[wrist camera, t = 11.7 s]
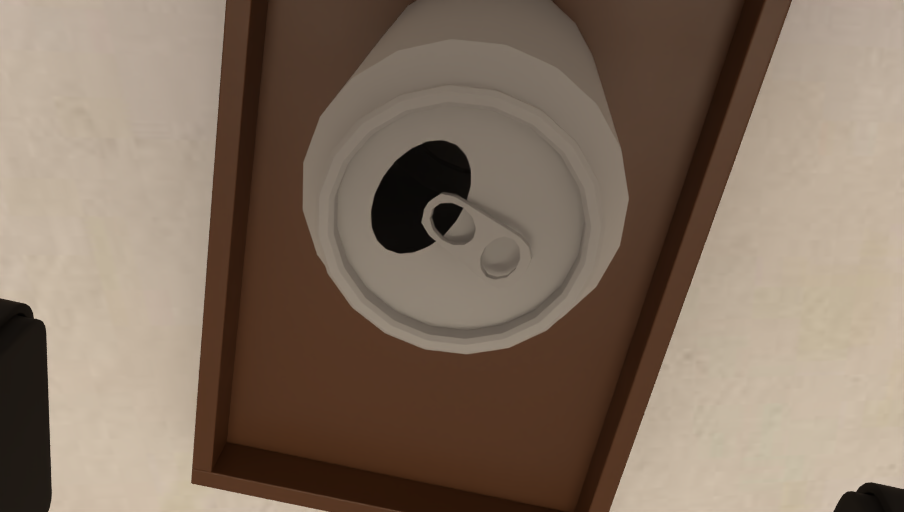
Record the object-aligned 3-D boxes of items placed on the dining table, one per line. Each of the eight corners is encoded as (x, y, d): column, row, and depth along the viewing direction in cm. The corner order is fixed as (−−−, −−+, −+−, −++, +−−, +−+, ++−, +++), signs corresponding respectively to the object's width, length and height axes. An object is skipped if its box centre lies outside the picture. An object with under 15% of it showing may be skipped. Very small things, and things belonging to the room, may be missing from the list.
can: (448, -74, 27) (393, -21, 16) (642, 57, 28) (713, 189, 17) (335, 120, 30) (223, 276, 19) (514, 231, 31) (506, 436, 20)
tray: (268, -219, 26) (241, -226, 24) (801, -105, 26) (828, -100, 24) (212, 443, 37) (190, 483, 35) (586, 520, 37) (589, 565, 35)
